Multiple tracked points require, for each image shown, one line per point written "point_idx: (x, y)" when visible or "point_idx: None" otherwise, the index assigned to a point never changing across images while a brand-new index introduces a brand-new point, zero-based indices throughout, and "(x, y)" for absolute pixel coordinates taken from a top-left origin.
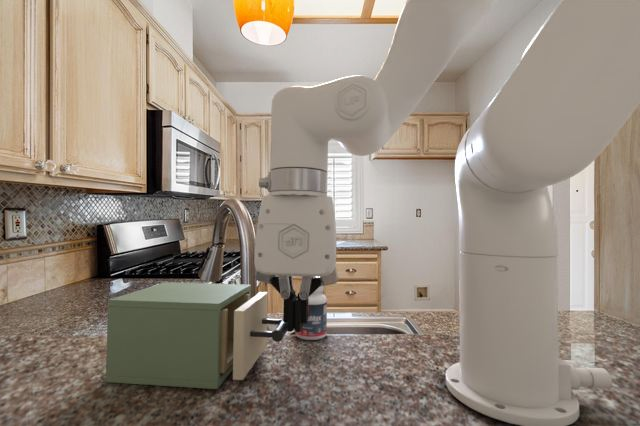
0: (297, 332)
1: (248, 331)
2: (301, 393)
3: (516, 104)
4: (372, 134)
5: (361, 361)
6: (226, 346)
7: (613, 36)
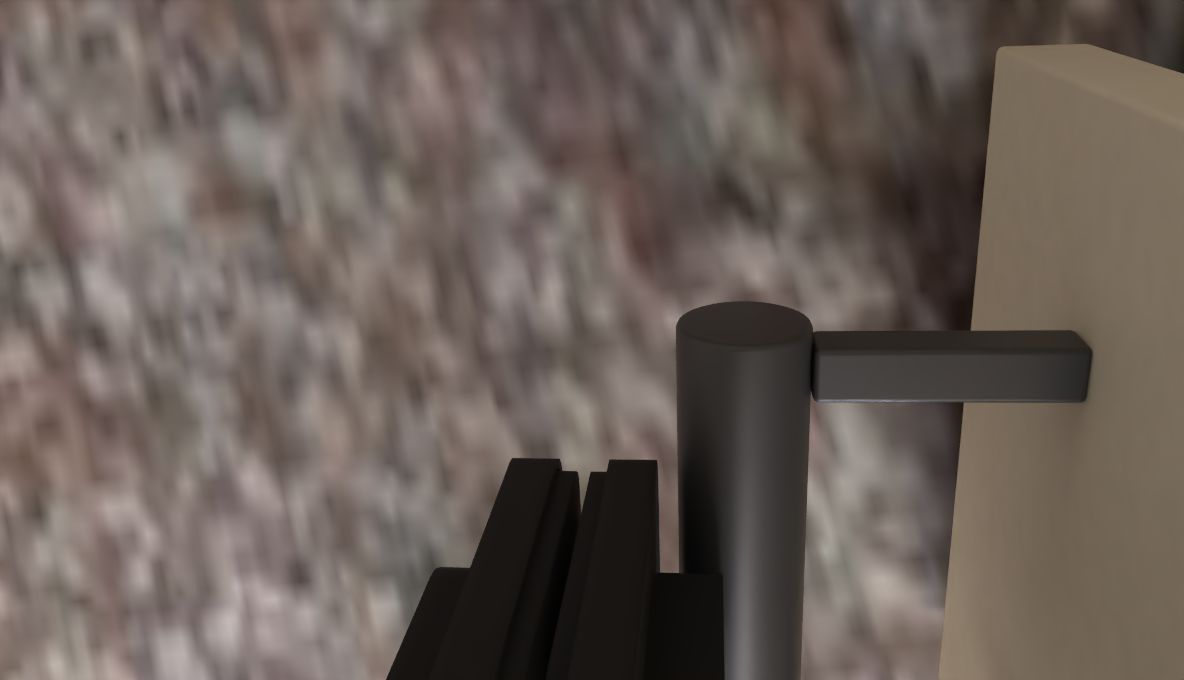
0: None
1: (1113, 298)
2: (494, 41)
3: None
4: None
5: (161, 573)
6: None
7: None
